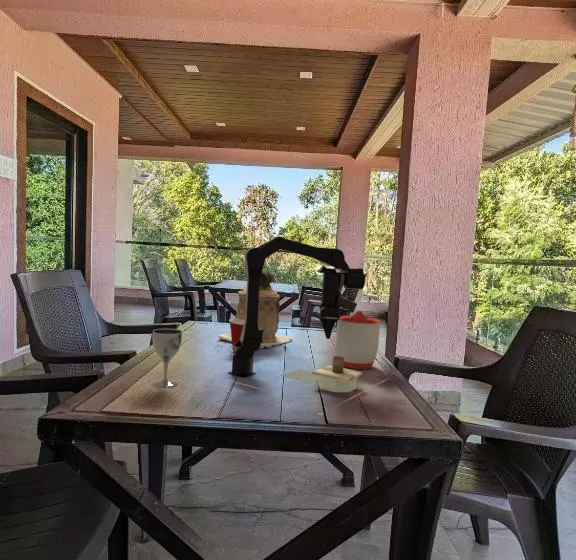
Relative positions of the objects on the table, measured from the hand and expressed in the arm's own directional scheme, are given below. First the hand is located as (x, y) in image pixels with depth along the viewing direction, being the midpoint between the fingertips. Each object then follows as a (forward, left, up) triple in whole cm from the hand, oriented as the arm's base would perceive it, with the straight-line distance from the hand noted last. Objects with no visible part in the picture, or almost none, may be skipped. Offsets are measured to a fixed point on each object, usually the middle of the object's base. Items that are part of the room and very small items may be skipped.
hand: (327, 336), depth 149 cm
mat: (-6, +4, -13) cm, 15 cm away
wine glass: (-42, +28, -13) cm, 52 cm away
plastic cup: (+5, +39, -13) cm, 41 cm away
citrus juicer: (+21, -1, -13) cm, 25 cm away
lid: (-9, -9, -9) cm, 16 cm away
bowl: (-9, -9, -13) cm, 18 cm away
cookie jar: (+26, +49, -13) cm, 57 cm away
